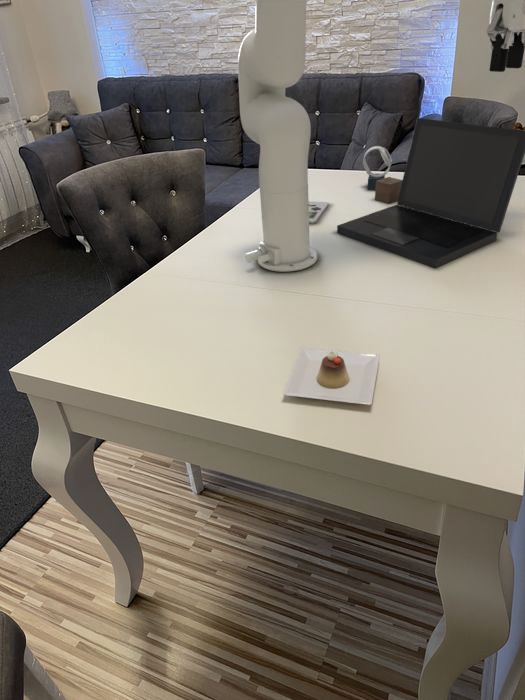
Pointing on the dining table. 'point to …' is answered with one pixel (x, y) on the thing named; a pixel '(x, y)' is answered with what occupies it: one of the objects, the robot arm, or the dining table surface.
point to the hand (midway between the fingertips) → (505, 68)
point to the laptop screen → (462, 171)
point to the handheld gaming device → (316, 210)
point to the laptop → (417, 235)
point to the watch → (375, 177)
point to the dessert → (333, 376)
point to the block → (387, 189)
